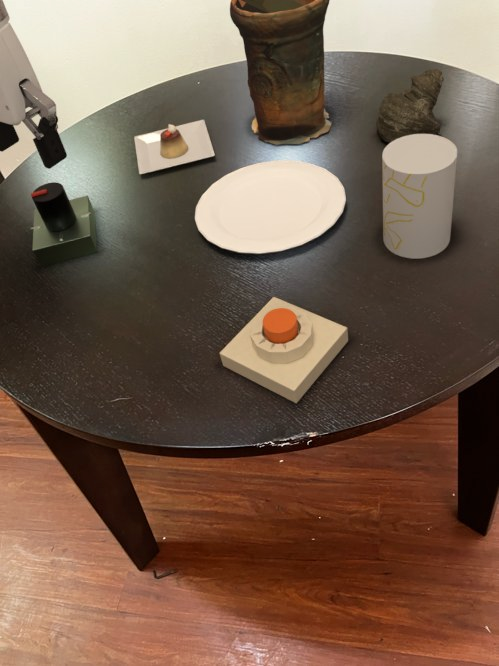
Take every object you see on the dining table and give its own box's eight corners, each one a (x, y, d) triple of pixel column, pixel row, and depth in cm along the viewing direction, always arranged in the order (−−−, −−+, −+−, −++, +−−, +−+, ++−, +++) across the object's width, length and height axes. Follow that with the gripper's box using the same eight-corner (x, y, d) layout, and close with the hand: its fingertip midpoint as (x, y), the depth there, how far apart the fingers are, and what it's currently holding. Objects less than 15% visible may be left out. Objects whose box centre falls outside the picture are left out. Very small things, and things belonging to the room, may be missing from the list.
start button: (285, 348, 67) (283, 337, 66) (258, 336, 69) (255, 324, 68) (305, 326, 69) (303, 315, 68) (278, 314, 71) (275, 303, 69)
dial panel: (99, 251, 90) (91, 233, 87) (38, 267, 89) (29, 250, 87) (96, 211, 96) (89, 193, 94) (40, 225, 96) (31, 208, 94)
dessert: (141, 180, 100) (132, 153, 97) (135, 142, 109) (127, 116, 105) (216, 161, 101) (210, 134, 97) (205, 125, 109) (199, 98, 106)
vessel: (340, 96, 108) (332, -33, 94) (335, 143, 99) (325, 7, 84) (256, 103, 111) (235, -21, 97) (243, 149, 102) (219, 18, 87)
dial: (75, 208, 92) (61, 176, 89) (77, 225, 89) (63, 194, 86) (45, 217, 92) (30, 185, 88) (46, 234, 89) (30, 203, 85)
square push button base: (296, 403, 67) (292, 379, 64) (222, 365, 72) (215, 341, 69) (348, 341, 71) (346, 315, 68) (276, 309, 76) (271, 284, 73)
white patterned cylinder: (370, 232, 83) (368, 150, 75) (424, 209, 85) (428, 126, 76) (407, 267, 78) (409, 183, 69) (464, 241, 79) (473, 156, 71)
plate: (232, 163, 100) (230, 153, 98) (365, 175, 92) (364, 165, 91) (171, 249, 87) (168, 240, 86) (318, 272, 80) (316, 262, 78)
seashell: (467, 110, 88) (463, 74, 94) (392, 71, 85) (393, 36, 92) (418, 171, 96) (417, 134, 103) (349, 137, 94) (352, 101, 100)
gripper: (-101, 18, 72) (-31, 154, 84) (-12, 37, 63) (52, 186, 76) (-46, -7, 76) (14, 126, 88) (46, 7, 67) (99, 154, 79)
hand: (32, 154), depth 82 cm, fingers open, 9 cm apart
